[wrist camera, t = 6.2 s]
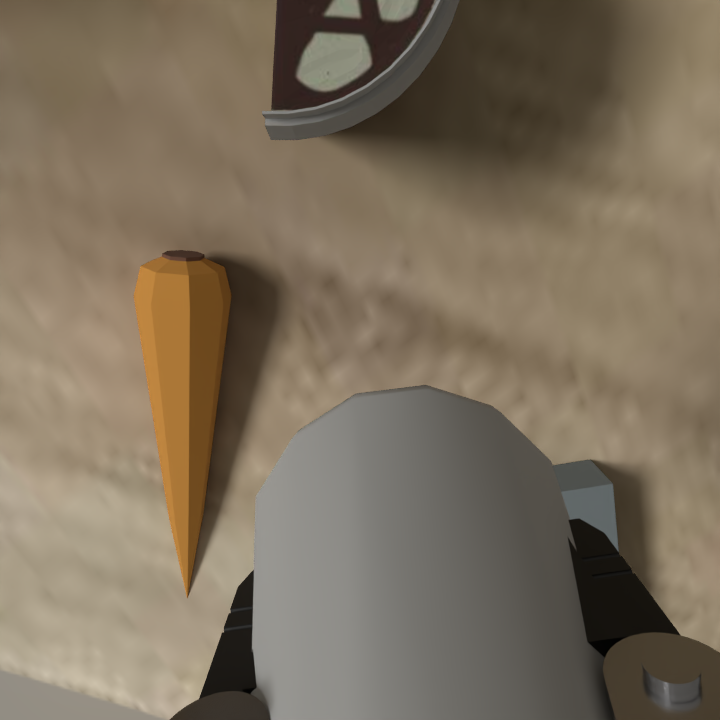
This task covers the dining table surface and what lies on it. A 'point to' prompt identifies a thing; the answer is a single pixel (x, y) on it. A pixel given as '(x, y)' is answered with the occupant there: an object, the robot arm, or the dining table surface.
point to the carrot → (183, 379)
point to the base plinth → (588, 496)
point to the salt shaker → (418, 571)
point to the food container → (348, 60)
